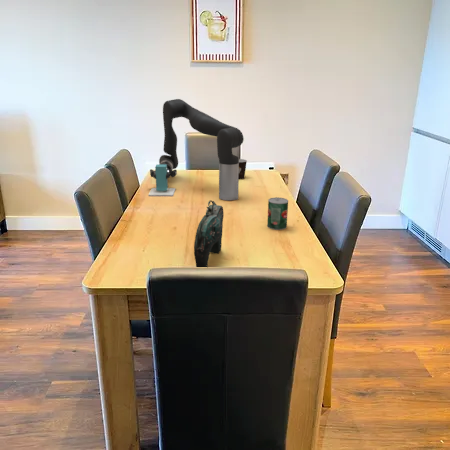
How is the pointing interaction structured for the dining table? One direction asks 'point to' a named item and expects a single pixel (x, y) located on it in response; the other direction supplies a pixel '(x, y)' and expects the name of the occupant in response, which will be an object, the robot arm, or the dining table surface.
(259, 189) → the dining table surface
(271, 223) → the canned tomato
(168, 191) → the white board
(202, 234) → the dark green power tool
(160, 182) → the teal block
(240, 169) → the coffee mug
